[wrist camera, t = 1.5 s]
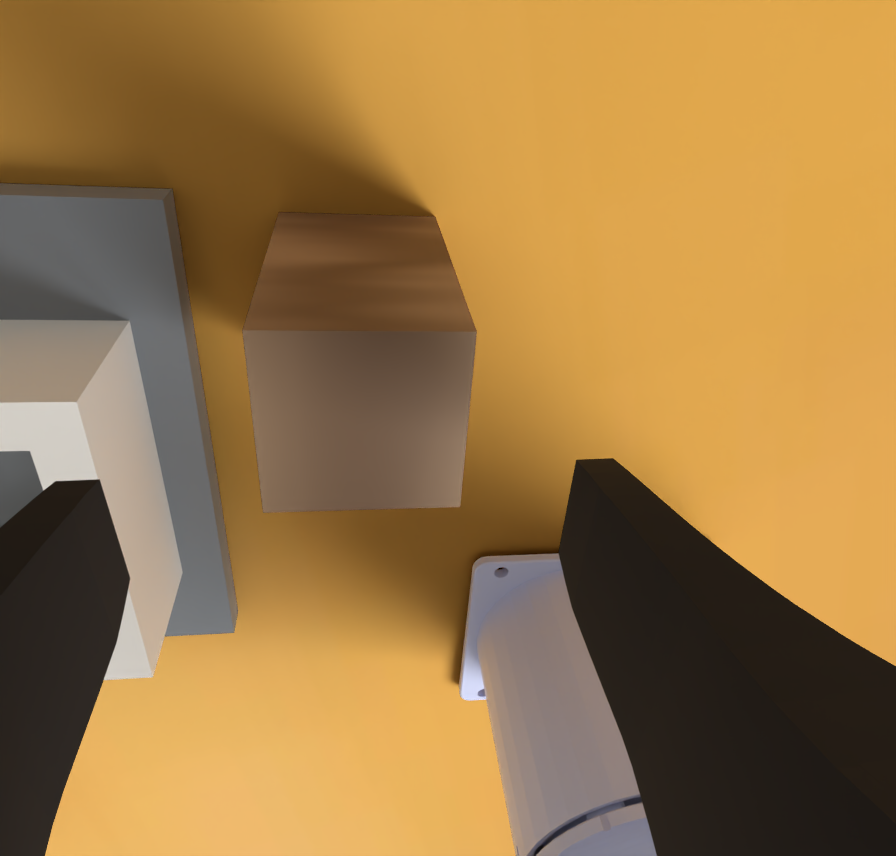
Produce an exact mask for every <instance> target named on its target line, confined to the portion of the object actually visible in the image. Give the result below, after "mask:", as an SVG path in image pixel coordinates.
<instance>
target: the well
mask: <svg viewBox="0 0 896 856" xmlns="http://www.w3.org/2000/svg"><path fill="white" fill-rule="evenodd" d="M96 479H100V482H101V485H102V488H103V491H104V495H105V498H106V501H107V504H108V508H109V511H110V514H111V517H112V521H113V524H114V527H115V530H116V533H117V537H118V540H119V543H120V546H121V550H122V553H123V556H124V559H125V563H126V566H127V569H128V572H129V575H130V583H129V588H128V593H127V598H126V603H125V608H124V613H123V617H122V622H121V626H120V630H119V635H118V639H117V643H116V646H115V649H114V652H113V654H112V657H111V660H110V663H109V666H108V669H107V672H106V674H105V677H104V680H113V679H130V678H146V677H153V675H154V672H155V668H156V665H157V661H158V658H159V654H160V650H161V647H162V643H163V640H164V636H182V635H201V634H220V633H234V631H235V625H236V620H237V614H238V607H237V601H236V595H235V588H234V582H233V575H232V569H231V562H230V556H229V550H228V543H227V537H226V530H225V524H224V517H223V511H222V505H221V498H220V492H219V485H218V479H217V472H216V466H215V460H214V453H213V447H212V440H211V434H210V427H209V421H208V415H207V408H206V402H205V395H204V389H203V382H202V376H201V370H200V363H199V357H198V350H197V344H196V337H195V331H194V324H193V318H192V312H191V305H190V299H189V292H188V286H187V279H186V273H185V267H184V260H183V254H182V247H181V241H180V234H179V228H178V222H177V215H176V209H175V202H174V196H173V189H160V188H130V187H100V186H70V185H39V184H9V183H0V527H1V526H3V525H4V524H5V523H6V522H7V521H8V520H9V519H11V518H12V517H13V516H14V515H15V514H16V513H18V512H19V511H20V510H21V509H22V508H23V507H25V506H26V505H27V504H28V503H29V502H30V501H32V500H33V499H34V498H35V497H36V496H38V495H39V494H40V493H41V492H42V491H44V490H45V489H46V488H47V487H49V486H50V485H51V484H52V483H54V482H55V481H72V480H96Z"/></svg>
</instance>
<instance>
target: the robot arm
mask: <svg viewBox="0 0 896 856" xmlns="http://www.w3.org/2000/svg"><path fill="white" fill-rule="evenodd" d="M501 567H504V568H503V569H501V570H496V569H498V568H501ZM129 583H130V575H129V572H128V569H127V566H126V563H125V559H124V556H123V553H122V550H121V546H120V543H119V540H118V537H117V533H116V530H115V527H114V524H113V521H112V517H111V514H110V511H109V508H108V504H107V501H106V498H105V495H104V491H103V488H102V485H101V482H100V479H96V480H72V481H55V482H54V483H52V484H51V485H50V486H49V487H47V488H46V489H45V490H44V491H42V492H41V493H40V494H39V495H38V496H36V497H35V498H34V499H33V500H32V501H30V502H29V503H28V504H27V505H26V506H25V507H23V508H22V509H21V510H20V511H19V512H18V513H16V514H15V515H14V516H13V517H12V518H11V519H9V520H8V521H7V522H6V523H5V524H4V525H3V526H1V527H0V856H45V853H46V849H47V845H48V841H49V837H50V833H51V829H52V825H53V822H54V819H55V816H56V813H57V810H58V806H59V803H60V800H61V797H62V794H63V791H64V788H65V785H66V782H67V780H68V777H69V774H70V771H71V769H72V766H73V763H74V760H75V758H76V755H77V752H78V749H79V746H80V744H81V741H82V738H83V735H84V733H85V730H86V727H87V724H88V722H89V719H90V716H91V713H92V711H93V708H94V705H95V702H96V700H97V697H98V694H99V691H100V688H101V686H102V683H103V680H104V677H105V674H106V672H107V669H108V666H109V663H110V660H111V657H112V654H113V652H114V649H115V646H116V643H117V639H118V635H119V630H120V626H121V622H122V617H123V613H124V608H125V603H126V598H127V593H128V588H129ZM459 692H460V696H461V697H462V698H463V699H465V700H484V699H486V701H487V706H488V711H489V717H490V722H491V727H492V732H493V738H494V743H495V748H496V754H497V759H498V764H499V770H500V775H501V780H502V785H503V791H504V796H505V801H506V807H507V812H508V817H509V822H510V828H511V833H512V838H513V844H514V849H515V854H516V856H896V666H894V665H892V664H891V663H889V662H887V661H885V660H884V659H882V658H880V657H878V656H877V655H875V654H873V653H871V652H870V651H868V650H866V649H865V648H863V647H861V646H860V645H858V644H856V643H855V642H853V641H851V640H850V639H848V638H846V637H845V636H843V635H841V634H840V633H838V632H837V631H835V630H834V629H832V628H831V627H829V626H828V625H826V624H824V623H823V622H821V621H820V620H818V619H817V618H815V617H814V616H812V615H811V614H809V613H808V612H806V611H804V610H803V609H801V608H800V607H798V606H797V605H795V604H794V603H792V602H791V601H789V600H788V599H787V598H785V597H784V596H782V595H781V594H779V593H778V592H777V591H775V590H774V589H772V588H771V587H770V586H768V585H767V584H766V583H764V582H763V581H762V580H760V579H759V578H758V577H756V576H755V575H754V574H752V573H751V572H750V571H748V570H747V569H745V568H744V567H743V566H741V565H740V564H739V563H737V562H736V561H735V560H734V559H732V558H731V557H730V556H728V555H727V554H726V553H725V552H723V551H722V550H721V549H720V548H718V547H717V546H716V545H715V544H713V543H712V542H711V541H710V540H708V539H707V538H706V537H705V536H704V535H702V534H701V533H700V532H699V531H698V530H696V529H695V528H694V527H693V526H691V525H690V524H689V523H688V522H687V521H686V520H684V519H683V518H682V517H681V516H680V515H678V514H677V513H676V512H675V511H674V510H673V509H671V508H670V507H669V506H668V505H667V504H666V503H665V502H663V501H662V500H661V499H660V498H659V497H658V496H656V495H655V494H654V493H653V492H652V491H651V490H650V489H648V488H647V487H646V486H645V485H644V484H643V483H642V482H640V481H639V480H638V479H637V478H636V477H635V476H633V475H632V474H631V473H630V472H629V471H628V470H626V469H625V468H624V467H623V466H622V465H620V464H619V463H618V462H617V461H615V460H614V459H613V458H612V459H587V460H576V464H575V469H574V474H573V480H572V485H571V490H570V495H569V500H568V505H567V511H566V516H565V521H564V526H563V531H562V537H561V542H560V547H559V552H558V553H555V554H530V555H505V556H486V557H481V558H480V559H478V560H477V561H476V562H475V563H474V565H473V568H472V577H471V586H470V594H469V603H468V612H467V620H466V629H465V638H464V647H463V655H462V664H461V673H460V681H459Z"/></svg>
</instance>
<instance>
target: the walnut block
mask: <svg viewBox="0 0 896 856" xmlns="http://www.w3.org/2000/svg"><path fill="white" fill-rule="evenodd" d="M242 331H243V340H244V349H245V357H246V366H247V375H248V384H249V393H250V402H251V411H252V419H253V428H254V437H255V446H256V455H257V464H258V473H259V481H260V490H261V499H262V508H263V513H270V512H304V511H339V510H373V509H407V508H441V507H460V503H461V493H462V482H463V471H464V461H465V450H466V440H467V429H468V419H469V408H470V397H471V387H472V376H473V366H474V355H475V345H476V334H477V331H476V328H475V326H474V323H473V320H472V317H471V314H470V312H469V309H468V306H467V303H466V301H465V298H464V295H463V292H462V289H461V287H460V284H459V281H458V278H457V276H456V273H455V270H454V267H453V264H452V262H451V259H450V256H449V253H448V251H447V248H446V245H445V242H444V239H443V237H442V234H441V231H440V228H439V226H438V223H437V220H436V217H430V216H396V215H362V214H328V213H294V212H279V213H278V217H277V220H276V223H275V226H274V230H273V233H272V236H271V239H270V243H269V246H268V249H267V252H266V256H265V259H264V262H263V265H262V269H261V272H260V275H259V278H258V281H257V285H256V288H255V291H254V294H253V298H252V301H251V304H250V307H249V311H248V314H247V317H246V320H245V324H244V327H243V330H242Z"/></svg>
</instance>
